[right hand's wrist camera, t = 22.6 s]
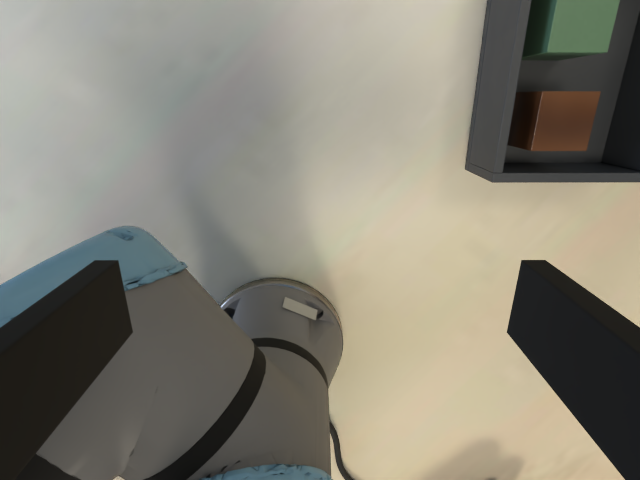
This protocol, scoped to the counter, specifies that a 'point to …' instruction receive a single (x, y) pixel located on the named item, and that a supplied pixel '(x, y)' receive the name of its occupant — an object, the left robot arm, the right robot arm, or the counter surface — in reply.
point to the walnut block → (553, 120)
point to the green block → (569, 28)
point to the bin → (552, 75)
